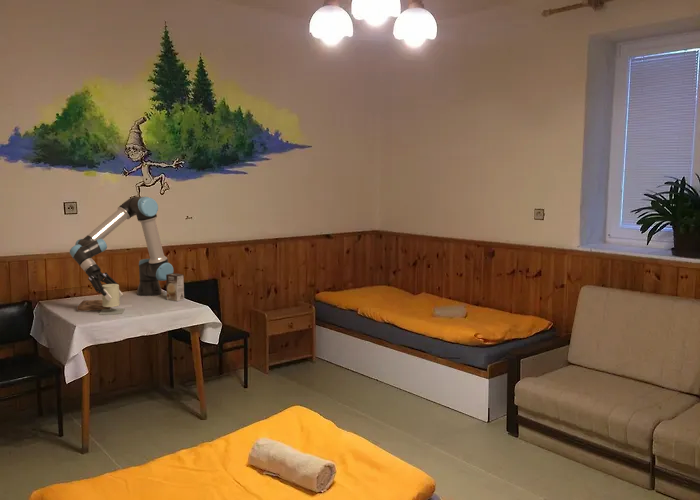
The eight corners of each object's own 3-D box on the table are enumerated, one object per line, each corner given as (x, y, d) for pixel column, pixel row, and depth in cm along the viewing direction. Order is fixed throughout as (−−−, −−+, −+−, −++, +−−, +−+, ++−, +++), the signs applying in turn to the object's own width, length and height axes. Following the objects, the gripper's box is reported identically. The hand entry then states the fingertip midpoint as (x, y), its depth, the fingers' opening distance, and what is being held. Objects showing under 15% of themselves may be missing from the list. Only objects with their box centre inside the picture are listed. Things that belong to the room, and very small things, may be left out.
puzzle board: (113, 303, 371) (113, 299, 371) (109, 309, 355) (109, 305, 354) (83, 304, 367) (83, 300, 367) (77, 310, 351) (77, 306, 350)
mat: (124, 309, 355) (124, 308, 355) (121, 314, 344) (121, 313, 343) (102, 310, 352) (102, 309, 352) (99, 315, 341) (98, 314, 341)
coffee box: (166, 299, 382) (165, 274, 380) (173, 298, 388) (172, 272, 386) (177, 301, 378) (176, 275, 376) (184, 299, 384) (184, 274, 382)
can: (113, 307, 342) (113, 286, 340) (98, 306, 344) (98, 285, 342) (123, 304, 351) (122, 283, 349) (108, 303, 353) (107, 282, 351)
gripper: (100, 269, 360) (124, 298, 357) (73, 275, 339) (99, 305, 337) (107, 261, 358) (131, 290, 355) (81, 266, 337) (106, 297, 334)
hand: (115, 297), depth 346 cm, fingers closed on can, 9 cm apart
